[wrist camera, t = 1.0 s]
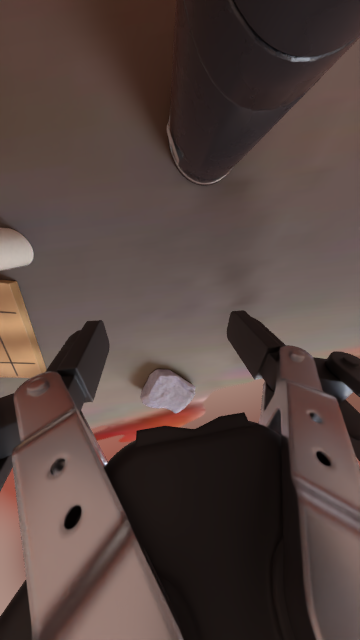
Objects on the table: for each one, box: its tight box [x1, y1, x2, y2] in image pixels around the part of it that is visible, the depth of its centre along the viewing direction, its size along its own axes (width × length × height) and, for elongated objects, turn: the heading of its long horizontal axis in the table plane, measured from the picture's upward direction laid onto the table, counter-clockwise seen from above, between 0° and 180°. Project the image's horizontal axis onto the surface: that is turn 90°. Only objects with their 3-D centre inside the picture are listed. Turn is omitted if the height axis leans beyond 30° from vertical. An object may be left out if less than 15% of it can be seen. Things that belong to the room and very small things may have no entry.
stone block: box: [141, 369, 195, 413], centre depth 38 cm, size 12×5×10 cm
